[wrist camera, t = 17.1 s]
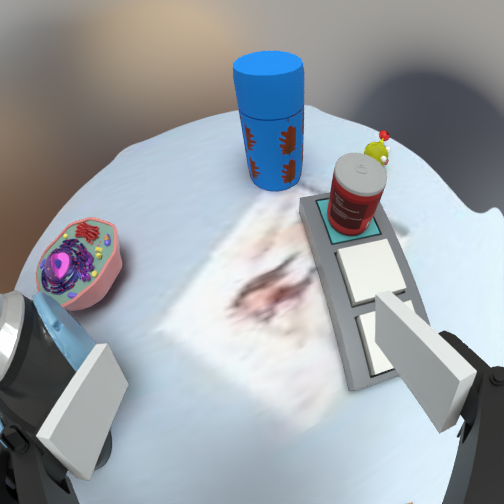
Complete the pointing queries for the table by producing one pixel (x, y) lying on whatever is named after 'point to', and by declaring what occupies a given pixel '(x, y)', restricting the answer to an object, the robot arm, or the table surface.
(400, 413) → the table surface
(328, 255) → the keypad frame
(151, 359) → the table surface
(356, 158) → the canned food
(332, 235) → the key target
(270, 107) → the thermos
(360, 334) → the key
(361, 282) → the key middle
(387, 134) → the toy figure
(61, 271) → the cell model
